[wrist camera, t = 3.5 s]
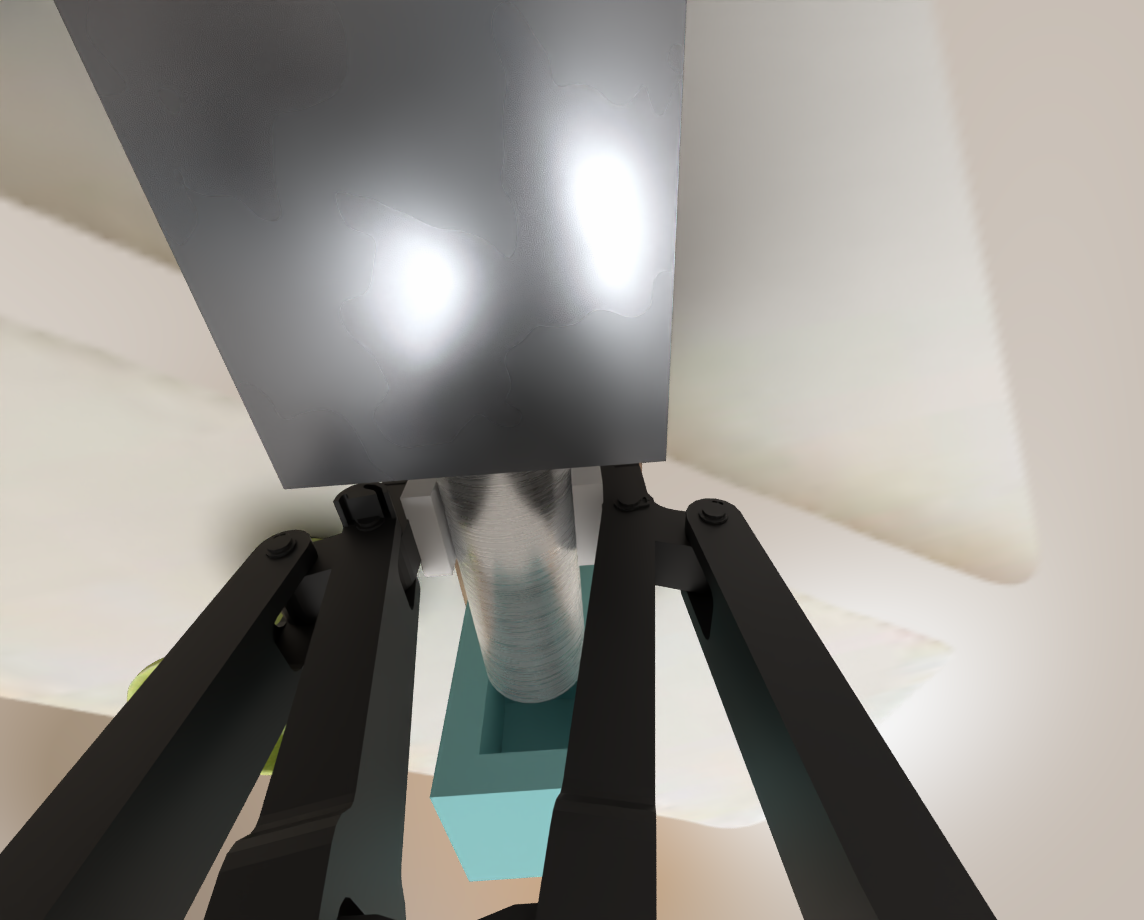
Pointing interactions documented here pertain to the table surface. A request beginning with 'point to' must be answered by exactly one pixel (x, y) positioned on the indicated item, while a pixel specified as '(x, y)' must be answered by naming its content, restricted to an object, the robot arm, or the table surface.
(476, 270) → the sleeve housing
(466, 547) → the steel tube
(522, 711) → the teal socket block
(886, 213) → the table surface
